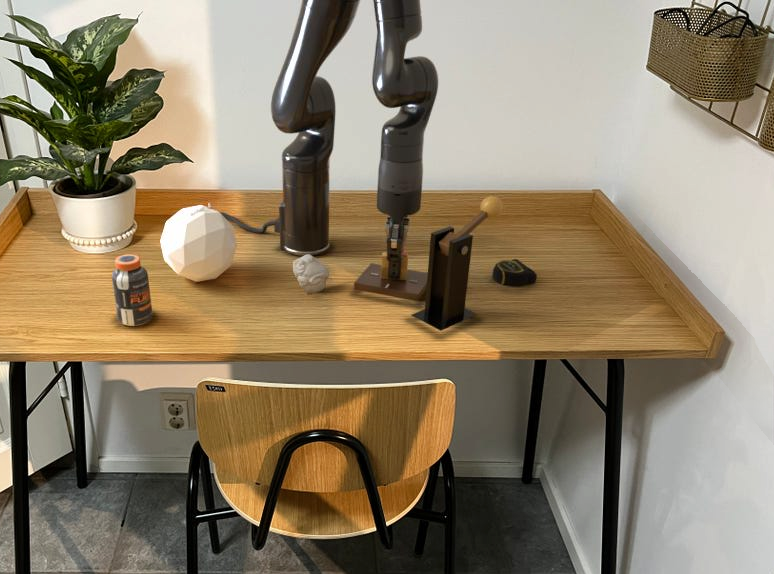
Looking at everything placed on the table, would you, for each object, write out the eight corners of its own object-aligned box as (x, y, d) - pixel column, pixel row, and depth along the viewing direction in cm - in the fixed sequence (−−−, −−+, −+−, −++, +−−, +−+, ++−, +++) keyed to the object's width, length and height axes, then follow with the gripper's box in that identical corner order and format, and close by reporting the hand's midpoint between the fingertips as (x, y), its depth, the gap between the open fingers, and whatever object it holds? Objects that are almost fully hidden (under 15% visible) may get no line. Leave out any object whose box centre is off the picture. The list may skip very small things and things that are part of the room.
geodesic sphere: (186, 222, 154) (162, 181, 141) (254, 229, 151) (235, 187, 138) (166, 289, 150) (139, 253, 136) (236, 297, 146) (215, 261, 133)
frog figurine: (301, 281, 145) (301, 247, 141) (335, 289, 142) (336, 254, 138) (287, 295, 140) (286, 260, 136) (321, 303, 137) (321, 267, 134)
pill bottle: (136, 330, 130) (127, 269, 124) (110, 321, 132) (101, 261, 126) (160, 315, 134) (152, 255, 128) (134, 307, 137) (126, 248, 131)
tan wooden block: (380, 278, 140) (381, 254, 137) (381, 275, 141) (382, 250, 138) (406, 280, 139) (407, 256, 136) (406, 276, 140) (408, 252, 138)
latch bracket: (446, 305, 136) (454, 221, 128) (476, 320, 131) (487, 233, 123) (410, 320, 131) (416, 234, 123) (440, 337, 127) (448, 248, 118)
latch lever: (491, 206, 129) (488, 189, 127) (508, 212, 127) (505, 195, 124) (439, 254, 126) (434, 238, 124) (455, 261, 124) (451, 245, 121)
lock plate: (353, 294, 140) (354, 281, 138) (370, 275, 147) (371, 262, 145) (417, 307, 136) (418, 293, 134) (431, 285, 143) (432, 272, 141)
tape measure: (536, 289, 141) (539, 270, 139) (503, 295, 139) (506, 276, 137) (516, 274, 146) (519, 256, 144) (484, 279, 145) (487, 261, 143)
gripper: (381, 169, 137) (377, 258, 146) (373, 195, 125) (369, 291, 134) (424, 171, 136) (417, 261, 145) (419, 198, 124) (412, 294, 133)
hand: (394, 275), depth 140 cm, fingers closed on tan wooden block
